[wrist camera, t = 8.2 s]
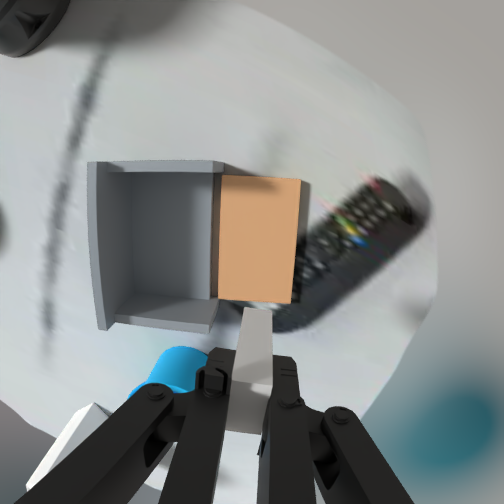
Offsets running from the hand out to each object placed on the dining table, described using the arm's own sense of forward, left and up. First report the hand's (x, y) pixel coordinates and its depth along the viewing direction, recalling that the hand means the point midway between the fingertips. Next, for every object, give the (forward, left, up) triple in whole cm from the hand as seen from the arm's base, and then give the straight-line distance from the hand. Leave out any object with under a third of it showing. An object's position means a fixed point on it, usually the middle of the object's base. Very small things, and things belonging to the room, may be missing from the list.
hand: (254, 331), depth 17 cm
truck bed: (-1, -10, -18) cm, 21 cm away
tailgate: (-1, -4, -18) cm, 18 cm away
